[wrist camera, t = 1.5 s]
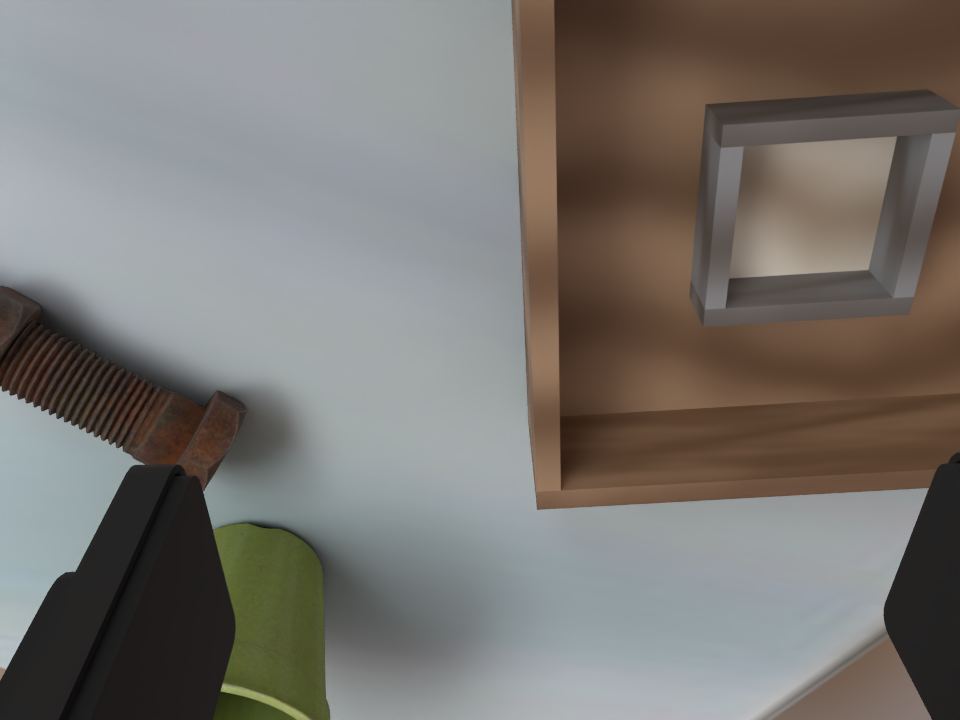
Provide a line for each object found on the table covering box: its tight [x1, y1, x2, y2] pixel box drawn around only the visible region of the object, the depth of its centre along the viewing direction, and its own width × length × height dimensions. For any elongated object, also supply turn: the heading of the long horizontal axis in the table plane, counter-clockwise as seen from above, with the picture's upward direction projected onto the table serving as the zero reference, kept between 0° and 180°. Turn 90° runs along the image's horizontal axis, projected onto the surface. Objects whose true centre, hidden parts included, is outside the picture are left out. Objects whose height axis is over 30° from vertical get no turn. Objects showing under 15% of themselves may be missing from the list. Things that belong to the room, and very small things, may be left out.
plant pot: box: [213, 523, 330, 720], centre depth 40 cm, size 12×12×11 cm
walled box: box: [512, 0, 960, 510], centre depth 31 cm, size 22×22×6 cm
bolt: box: [0, 286, 247, 491], centre depth 36 cm, size 6×5×15 cm
